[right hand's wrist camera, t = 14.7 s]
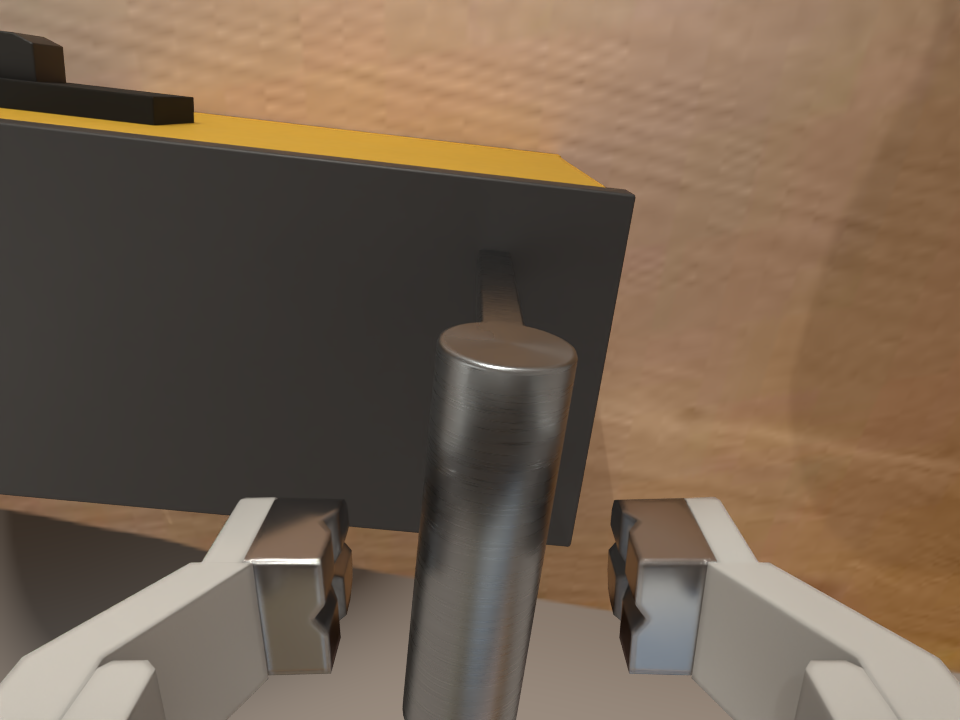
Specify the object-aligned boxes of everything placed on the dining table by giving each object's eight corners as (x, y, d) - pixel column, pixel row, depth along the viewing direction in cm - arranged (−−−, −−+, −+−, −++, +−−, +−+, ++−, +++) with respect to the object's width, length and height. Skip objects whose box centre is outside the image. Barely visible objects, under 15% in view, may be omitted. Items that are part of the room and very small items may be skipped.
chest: (558, 154, 26) (609, 187, 16) (525, 379, 30) (550, 526, 19) (139, 106, 26) (-88, 107, 15) (153, 341, 29) (-27, 471, 19)
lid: (628, 189, 16) (785, 278, 8) (566, 527, 19) (632, 841, 11) (-89, 107, 15) (-735, 112, 7) (-28, 472, 19) (-425, 762, 10)
